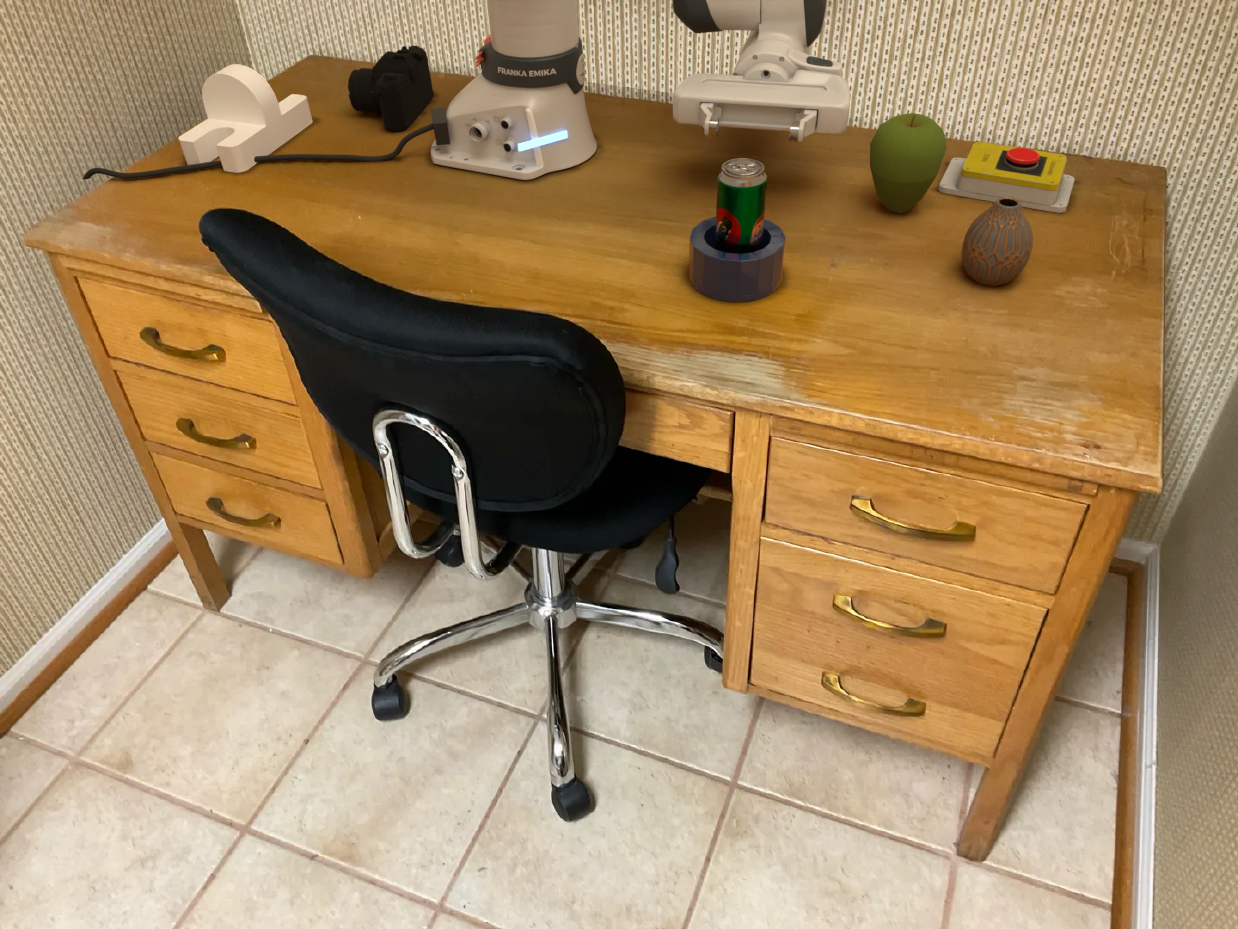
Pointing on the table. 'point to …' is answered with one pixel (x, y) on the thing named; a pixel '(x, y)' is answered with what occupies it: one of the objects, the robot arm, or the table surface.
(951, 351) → the table surface
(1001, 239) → the vase
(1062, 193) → the emergency button
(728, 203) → the soda can
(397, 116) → the film camera
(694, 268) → the socket
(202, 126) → the white slotted bracket
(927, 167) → the apple
